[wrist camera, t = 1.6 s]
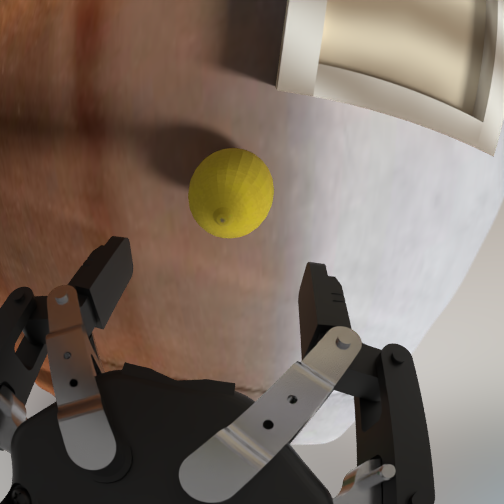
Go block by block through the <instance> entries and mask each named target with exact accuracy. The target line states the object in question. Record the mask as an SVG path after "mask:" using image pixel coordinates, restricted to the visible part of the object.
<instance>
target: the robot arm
mask: <svg viewBox="0 0 504 504" xmlns="http://www.w3.org/2000/svg"><path fill="white" fill-rule="evenodd" d="M132 273H133V262H132V255H131V249H130V242H129V239H128V238H124V237H116V236H112V237H111V238H110V239H109V240H108V242H107V243H106V244H105V245H104V246H103V245H101V246H100V247H98V248H97V249H95V250H94V251H93V252H92V253H91V254H90V255H89V257H88V258H87V260H86V261H85V262H84V263H83V266H81V267H80V269H79V270H78V271H77V273H76V274H75V275H74V277H73V278H72V279H71V281H70V282H69V284H68V285H61V286H58V287H56V288H54V289H53V290H52V291H51V292H50V293H49V295H48V296H34V294H33V292H32V290H31V289H30V288H28V287H20V288H18V289H16V290H14V291H13V292H12V293H11V294H10V295H9V296H8V298H7V299H6V301H5V302H4V304H3V305H2V307H1V308H0V450H2V451H3V450H5V451H7V452H9V453H11V458H12V468H13V478H12V486H11V489H10V491H9V492H8V494H7V495H6V497H5V498H4V499H3V501H2V502H1V503H0V504H434V501H435V490H434V478H433V467H432V459H431V450H430V443H429V437H428V430H427V424H426V418H425V413H424V407H423V402H422V397H421V393H420V388H419V383H418V379H417V375H416V370H415V366H414V363H413V358H412V356H411V354H410V352H409V351H408V350H407V349H406V348H405V347H403V346H401V345H398V344H388V345H386V346H385V347H384V348H383V349H382V350H380V349H377V348H374V347H371V346H368V345H365V344H363V343H362V342H361V339H360V337H359V335H358V334H357V333H356V332H355V331H353V330H352V329H351V325H350V320H349V316H348V311H347V307H346V303H345V298H344V296H343V290H342V286H341V284H340V283H339V282H338V280H337V279H336V278H335V277H332V276H328V275H327V270H326V266H325V264H320V263H313V262H308V263H307V265H306V269H305V272H304V276H303V279H302V283H301V286H300V290H299V298H298V304H299V319H300V335H301V353H302V361H301V362H298V361H297V362H296V363H294V364H293V365H292V366H291V367H290V368H289V369H288V370H287V371H286V372H285V373H284V374H283V375H282V376H281V377H280V378H279V379H278V380H277V381H276V382H275V383H274V384H273V385H272V386H271V387H270V388H269V389H268V390H267V391H266V392H265V393H264V394H263V395H262V396H261V397H260V398H259V399H258V400H257V401H256V402H254V401H253V400H252V399H250V398H249V397H247V396H245V395H243V394H241V393H239V392H236V391H234V390H235V383H229V382H222V381H215V380H208V379H203V380H182V381H177V380H174V379H171V378H169V377H167V376H165V375H163V374H161V373H158V372H156V371H154V370H152V369H150V368H146V367H141V366H137V365H133V364H129V363H125V364H124V366H123V369H122V370H114V371H109V372H105V371H104V369H103V366H102V363H101V360H100V356H99V353H98V350H97V346H96V343H95V339H94V336H93V333H92V331H93V329H94V327H97V328H101V329H104V328H105V326H106V324H107V322H108V320H109V318H110V316H111V314H112V312H113V310H114V308H115V306H116V304H117V303H118V301H119V299H120V297H121V295H122V293H123V292H124V290H125V288H126V286H127V284H128V282H129V281H130V279H131V277H132ZM22 331H23V333H24V334H25V336H24V338H23V339H22V341H21V343H20V345H19V347H18V349H17V351H16V353H15V350H14V347H15V343H16V341H17V339H18V337H19V335H20V334H21V332H22ZM47 353H48V359H49V365H50V371H51V377H52V382H53V387H54V392H55V397H56V402H55V403H53V404H51V405H50V406H48V407H47V408H45V409H43V410H42V411H40V412H38V413H37V414H35V415H34V416H32V417H30V418H29V419H27V418H26V408H25V404H26V402H27V399H28V397H29V394H30V392H31V389H32V387H33V384H34V382H35V380H36V377H37V375H38V373H39V371H40V368H41V366H42V364H43V362H44V360H45V357H46V355H47ZM333 390H336V391H340V392H343V393H346V394H349V395H352V396H354V404H355V420H356V439H357V440H356V441H357V467H356V468H354V469H352V470H351V471H349V472H348V473H347V475H346V476H345V478H344V480H343V485H342V489H341V491H340V493H339V494H338V495H337V496H336V497H335V498H333V499H332V497H331V495H330V493H329V491H328V490H327V489H326V487H325V486H324V485H323V484H322V483H321V481H320V480H319V479H318V478H317V477H316V476H315V475H314V473H313V472H312V471H311V470H310V469H309V467H308V466H307V465H306V464H305V463H304V462H303V460H302V459H301V458H300V456H299V455H298V454H297V453H296V452H295V450H294V449H293V448H292V447H291V446H290V443H291V442H292V441H293V440H294V439H295V438H296V436H297V435H298V434H299V433H300V432H301V431H302V429H303V428H304V427H305V426H306V425H307V423H308V422H309V421H310V420H311V418H312V417H313V416H314V415H315V413H316V412H317V411H318V410H319V408H320V407H321V406H322V405H323V403H324V402H325V401H326V400H327V398H328V397H329V396H330V394H331V393H332V392H333Z"/></svg>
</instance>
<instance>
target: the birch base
mask: <svg viewBox="0 0 504 504" xmlns="http://www.w3.org/2000/svg"><path fill="white" fill-rule="evenodd" d="M275 87H276V89H277V91H283V92H290V93H296V94H302V95H308V96H313V97H318V98H323V99H328V100H333V101H337V102H342V103H346V104H350V105H354V106H358V107H362V108H366V109H370V110H373V111H377V112H380V113H384V114H387V115H390V116H394V117H397V118H400V119H403V120H406V121H409V122H412V123H415V124H418V125H421V126H424V127H426V128H429V129H432V130H434V131H437V132H439V133H442V134H445V135H447V136H449V137H452V138H454V139H457V140H459V141H461V142H464V143H466V144H468V145H470V146H473V147H475V148H477V149H479V150H481V151H483V152H485V153H487V154H489V155H491V156H493V157H494V153H495V150H496V147H497V143H498V139H499V136H500V132H501V128H502V124H503V119H504V0H287V5H286V13H285V20H284V27H283V35H282V42H281V49H280V57H279V64H278V72H277V79H276V86H275Z"/></svg>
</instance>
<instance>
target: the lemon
mask: <svg viewBox="0 0 504 504" xmlns="http://www.w3.org/2000/svg"><path fill="white" fill-rule="evenodd" d="M273 194H274V187H273V179H272V176H271V174H270V172H269V169H268V168H267V166H266V165H265V164H264V162H263V161H262V160H261V159H260V158H259V157H257V156H256V155H255V154H253V153H251V152H249V151H247V150H244V149H238V148H228V149H222V150H219V151H216V152H214V153H212V154H211V155H209V156H208V157H206V158H205V159H204V160H203V161H202V162H201V163H200V165H199V166H198V167H197V168H196V170H195V172H194V174H193V176H192V178H191V181H190V186H189V193H188V199H189V206H190V210H191V212H192V215H193V217H194V219H195V220H196V222H197V223H198V224H199V225H200V226H201V227H202V228H203V229H204V230H205V231H207V232H208V233H210V234H212V235H214V236H218V237H221V238H236V237H241V236H244V235H246V234H249V233H250V232H252V231H253V230H254V229H256V228H257V227H258V226H259V225H260V224H261V223H262V222H263V220H264V219H265V218H266V216H267V214H268V212H269V210H270V208H271V205H272V201H273Z"/></svg>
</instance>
